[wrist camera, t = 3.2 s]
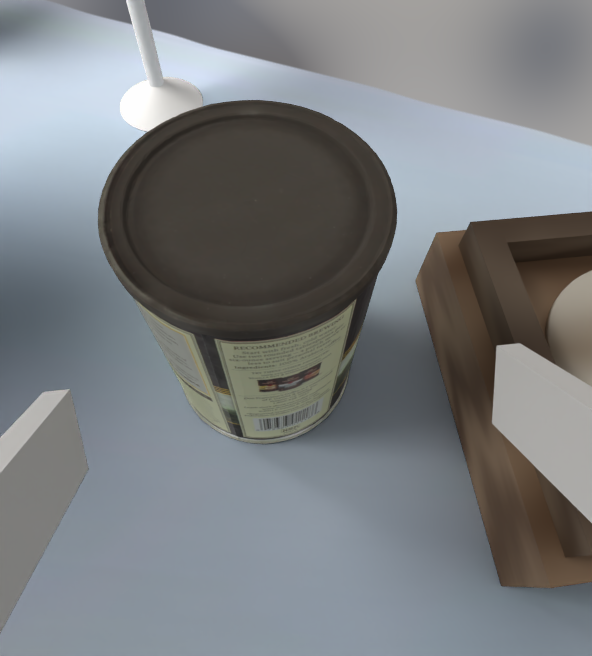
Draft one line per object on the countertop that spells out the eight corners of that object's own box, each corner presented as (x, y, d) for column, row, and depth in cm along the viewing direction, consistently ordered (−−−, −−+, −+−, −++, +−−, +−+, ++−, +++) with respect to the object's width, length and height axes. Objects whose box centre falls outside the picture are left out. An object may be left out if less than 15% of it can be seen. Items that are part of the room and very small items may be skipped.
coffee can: (269, 260, 33) (261, 62, 20) (384, 364, 29) (459, 204, 17) (142, 356, 29) (36, 188, 17) (255, 485, 26) (229, 398, 13)
